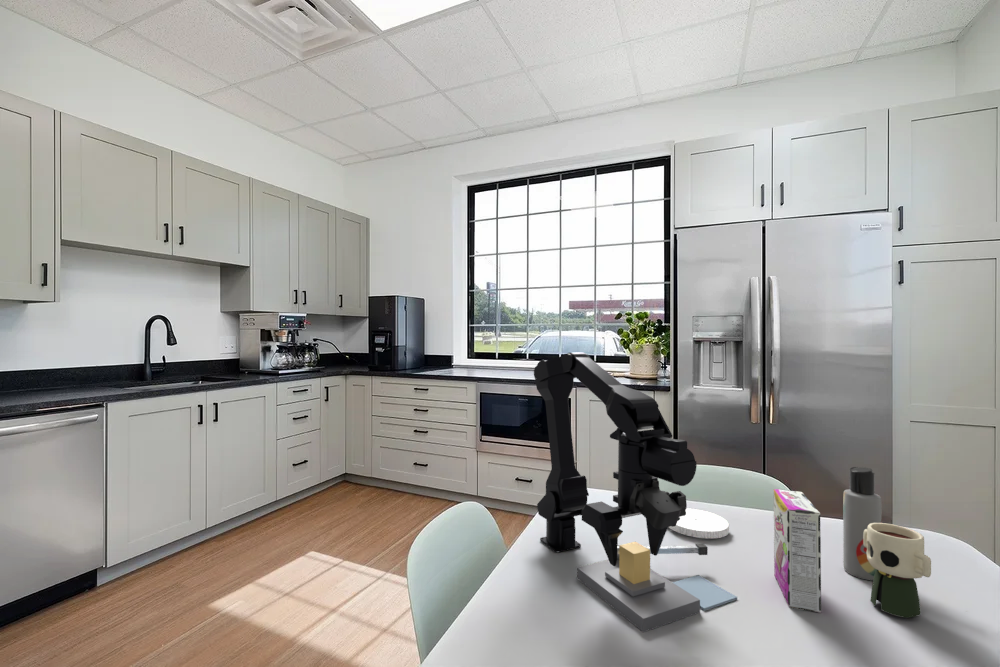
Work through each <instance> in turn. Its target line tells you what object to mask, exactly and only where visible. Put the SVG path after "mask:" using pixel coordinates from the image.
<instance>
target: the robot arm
mask: <svg viewBox="0 0 1000 667" xmlns="http://www.w3.org/2000/svg"><path fill="white" fill-rule="evenodd" d="M533 377H534V382H535V385H536V390H537V391H538V393H539V395H540V396H541V397H542V399H543V400H544V404H545V411H546V422H547V433H548V443H549V453H550V462H551V464H550V465H551V470H550V472H549V474H548V477H547V479H546V481H545V494H544V495H543V497H542V498H541V499H540V501H538V503H537V505H536V507H537V512H538V516H540V517H542V518H543V519H545V520H546V527H545V528H546V530H545V531H546V532H545V533H546V536H542V537H540V539H539V541H540V542H542V543H543V544H544V545H545V546H547V547H548V548H549V549H551V550H552V551H553V552H555V553H560V552H564V551H569V550H573V549H578V548H581V547H582V544H581V543H580V542H579V541H577V540H576V518H575V517H578V516H581V521H582V522H584V523H586V524H587V525H588V526H590V527H591V528H593V529H594V530H595V533H596V534H597V536H598V537H599V541H600V542H601V545H602V547H603V549H604V552H605V554H606V557H607V560H608V559H609V562H610V564H611V565H613V566H616V562H617V546H618V545H619V544H618V542H619V541H618V540H619V539H618V538H619V537H620V536H621V534H623V532H624V531H623V529H620V528H621V527H622V525H623V519H624V518H630V517H631V518H632V517H634V516H635V517H636V516H640V515H642V516H643V517H644V518H645V521H646V529H647V537H648V544H649V546H650V550H651V553H652V554H651V555H653V556H655V557H656V556H658V555H659V554H658V551H659V549H660V546H662V543H663V541H664V537H665V535H666V534H667V530H669V528H668V527H669V526H672V527H674V526H676V524H677V521H679V520H680V517H681V516H685V515H686V508H688V507H687V506H688V505H687V495H686V494H684V493H683V492H682V491H681V490H677V491H673V492H671V493H670V492H668V491H664V490H661V489H660V481H659V479H660V480H662V481H666V482H668V483H671V484H674V485H676V486H679V487H684V486H685V487H686V486H687V485H689V484H690V483H691V482H692V480H693V479H694V477H695V475H696V472H697V460H696V459H695V458H696V457H695V455H694V453H693V452H692V451H691V450H690V449H689V448H688V441H687V440H684V439H679V438H678V439H675V438H673V434H672V432H671V430H670V428H669V426H668V424H667V422H666V420H665V419H664V417H663V415H662V412H661V411H660V408H659V407H660V406H659V403H658V402H657V401H656V400H655V398H653V397H651V396H650V395H648V394H646V393H644V392H642V391H640V390H637V389H633V388H631V387H627V386H626V385H624V384H622V383H621V382H620V381H618V380H617V379H616V378H615V377H613V375H612V374H610V373H609V372H608V371H606V370H605V369H604V368H603V367H602V366H601V365H599V364H598V363H596V362H595V361H594V360H593V359H592V358H591V356H590V355H589V354H587V353H586V352H567V353H565V354H563V355H560V356H557V357H554V358H551V359H541V360H539V362H537V364H536V365H535V367H534V368H533ZM574 379H577V380H578V381H579V382H580V383H581V384H582V385H583V386H585V387H586V388H587V389H588V390H589V391H590V392H591V393H592V394H593V395H595V397H597V398H598V399H599V400H600V401H601V402H602V403H603V404H604V406H605V410H606V414H607V416H608V417H609V419H610V420H611V421H612V422H613V424H614V425H615V426H616V430H614V431H612V432H611V433H610V434H609V438H610V439H613V440H616V441H617V442H618V444H617V445H618V451H617V452H618V453H617V454H618V455H617V457H618V458H617V459H618V460H617V461H618V462H617V463H618V464H617V465H618V467H617V471H613V472H612V475H613V476H612V478H613V479H616V480H617V494H614V495H612V501H613V502H614V503H615V504H617V506H611V505H609V504H607V503H606V502H603V501H596V502H592V503H591V502H590V503H588V497H589V495H590V494H589V491H588V483H587V481H588V479H587V478H586V476H585V475H581V474H580V472H579V471H578V469H577V468H576V463H575V454H574V453H575V452H574V445H573V444H574V443H573V434H572V426H571V425H572V424H571V415H570V407H569V406H570V404H569V398H570V395H571V393H572V391H573V389H574V386H575V385H574V384H575V383H574V381H575V380H574Z"/></svg>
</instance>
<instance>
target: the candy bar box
mask: <svg viewBox="0 0 1000 667" xmlns="http://www.w3.org/2000/svg"><path fill="white" fill-rule="evenodd" d="M821 542H822V541H821V512H820V511H819V510H818V509H817V508H816V507H815V505H814V504H813V503H812V502H811V501H810V500H809V498H808V497H807V496H806V495H805V494H804V492H802V491H799V490H798V491H797V490H790V489H788V490H787V489H782V488H780V489H779V488H777V489H775V488H774V489H773V558H774V560H773V562H774V563H773V564H774V565H773V566H774V568H773V571H774V572H773V574H774V577H775V579H776V581H777V584H778V586H779V589H780V591H781V592H782V595H783V597H784V599H785V602H786V604H787V605H788V607H789V608H791V609H796V610H803V611H808V612H809V611H810V612H813V613H820V614H821V613H822V565H821V564H822V562H821V561H822V560H821V559H822V557H821V555H822V554H821V553H822V552H821V550H822V548H821V547H822V545H821V544H822V543H821Z"/></svg>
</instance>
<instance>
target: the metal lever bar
mask: <svg viewBox="0 0 1000 667" xmlns="http://www.w3.org/2000/svg"><path fill="white" fill-rule="evenodd" d="M620 545H621V544H618V546H617V560H618V561H619V548H620ZM643 546H644V547H646V548H648V549H649V550H650V546H648V545H647V546H645V545H643ZM708 549H709V548H708V546H707V545H706V544H704V543H695V545H661V546H660V549H659V551H658V554H657V555H665V554H666V555H668V554H698V555H699V556H708ZM650 555H653V554H652V553H651V550H650Z"/></svg>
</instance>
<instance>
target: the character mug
mask: <svg viewBox="0 0 1000 667" xmlns="http://www.w3.org/2000/svg"><path fill="white" fill-rule="evenodd" d="M863 543H864V546H865V547H866V548H867V559H868V561H869V563H870V564H871V566H872V567H874V568H875V569H877V570H876V571H875V574H874V579H873V580H872V586H871V590H870V591H871V594H870V599H869V600H870V602H871V603H872V605H874V606H875V607H877V606H876V605H877V601H878V603H880V610H881V611H883V612H886V613H887V614H890V615H893V616H897V617H901V618H904V619H905V618H915V617H919V616H921V613H922V612H921V605H920V604H921V603H920V597H919V590H918V586H917V582H916V580H915V579H920V578H922V577H924V578H930V577H931V575H932V559H931V558H930V557H929V556H928V555H926V554H925V537H924V536H923V534H922V533H920V532H918V531H916V530H913V529H910V528H908V527H905V526H902V525H901V526H900V525H897V524H892V523H885V522H884V523H883V522H881V523H871V524H869V525H868V527H867V529H865V530H864V535H863Z"/></svg>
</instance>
